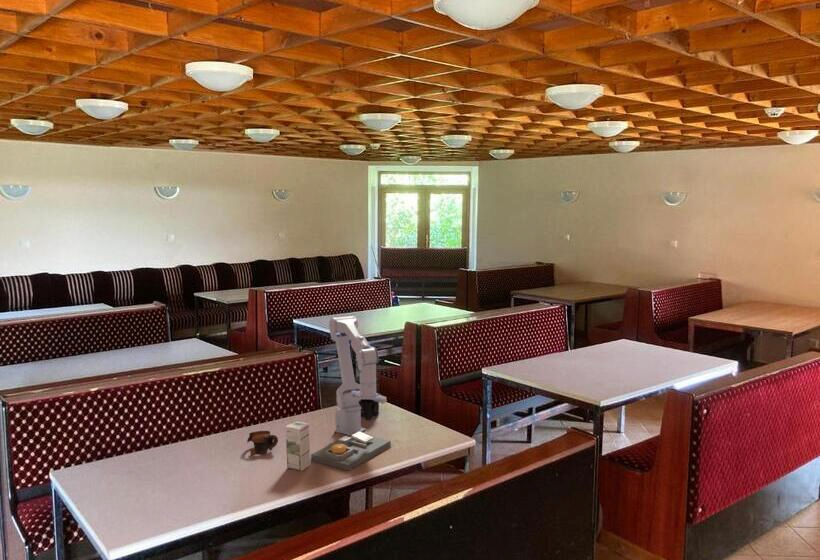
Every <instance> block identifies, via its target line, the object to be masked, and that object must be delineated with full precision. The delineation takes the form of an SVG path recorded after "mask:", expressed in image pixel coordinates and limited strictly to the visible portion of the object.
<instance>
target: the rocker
mask: <svg viewBox="0 0 820 560" xmlns="http://www.w3.org/2000/svg"><path fill="white" fill-rule="evenodd" d="M371 436H372V435H370V434H369V435H368V434H366V433H364V432H363V431H362V432H360V431H359V432H357V433H355V434H353V435H352V436H351V437H352V438H354V439H356V440H359V441H361V442H363V443H365V444H366V443H368V442H370V441H371V440H373V437H374V436H373V437H371Z"/></svg>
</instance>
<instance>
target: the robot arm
mask: <svg viewBox="0 0 820 560" xmlns="http://www.w3.org/2000/svg"><path fill="white" fill-rule="evenodd" d="M358 322H359V321H358V318H357V317H356V316H355V315H347V316H337V317H336V316H335V317H331V318H330V320H329V325H328V328H329V334H330V338H331V341H334V343H335V345H336V350H337V357H338V363H339V370H340V377H341V382H342V384H341V385H340V386H339V387H338V388H337V389H336V405H337V409H336V411H335V413H334V414H335V415H334V416H335V417H334V418H335V419H334V421H335V422H334V423H335V429H334V432H336V433H339V434H343V435H346V436H349V435H350V434H352V433H354V432H359V431H360V432H362V433H363V432H364V431H366V429H367V428H365V427H362V417H361V409H362V410H363V412H364V416H365V418H364V420H365V421H371V420H372V419H373V417H372V416H373V412H374V409H375V407H376V405H377V403H378V402H379V404H381V405H382V404H386V403H387V397H386V396H384V395H381V394H380V393H378V394H377V393H376V377H377V364H379V352H378V349H377V348H376V347H374V346H371V344H370V343H369V342H368V341H367V339H366V338H365V336H364V335H363V336H362V335H361V334H360V332H359V330H358V327H359V326H358V325H359V323H358ZM350 341H351V342H350ZM349 342H350V343H349ZM350 346H351V348H352V350H353V352H355V354H356V362H357V368H358V370H359V376H360V385H359V384H358V383H356V382H355V378H356V377H355V374H354V368H353V361H352V356H351V349H350Z"/></svg>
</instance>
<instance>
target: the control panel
mask: <svg viewBox="0 0 820 560" xmlns="http://www.w3.org/2000/svg"><path fill="white" fill-rule="evenodd" d="M355 433H357V432H354V433H352V434H350V435H346V436H347V437H351V436H352V435H353V434H355ZM370 436H371V437H373V440H371V441H370V442H368V443H366V444H365V443H363V442H361V441H359V440H356V439H354V438H352V437H351V438H352V444H351V445H349V446H348V447H347V446H346V452H345V453H343V454H341V455H337V454H334V453H331V446H333V445H335V444H338V440H337V441H334V442H333V443H331V444H329V445H327V446H324V447H323V448H321V449H319V450H317V451H315V452H313V453H310V461H314V462H317V463H320V464H324V465H328V466H330V467H333V466H334V467H333V468H337V467H338V469H340V468H341V469H340V470H343V469H345V470H344V471H347V470H349V471H351V470H352V469H354V468H356V467H357V466H359V465H361V464H363V463H364V462H366V461H368V460H369V459H371V458H373V457H374V456H376V455H378V454H380V453H381V452H383V451H385V450H387V449H388V448H390V447H392V446H391V444H392V443H391V441H392V440H390V439H385V438H381V437H378V436H377V437H376V436H372V435H370ZM353 467H354V468H353ZM350 469H351V470H350Z"/></svg>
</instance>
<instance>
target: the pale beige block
mask: <svg viewBox="0 0 820 560" xmlns="http://www.w3.org/2000/svg"><path fill="white" fill-rule="evenodd" d="M347 436H348V435H344V436H342V437H340V438H339V439H338V440H337V441H338V444H344V445H346V446H347V447H348V446H349V445H351V444H352V438H351V437H347Z"/></svg>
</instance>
